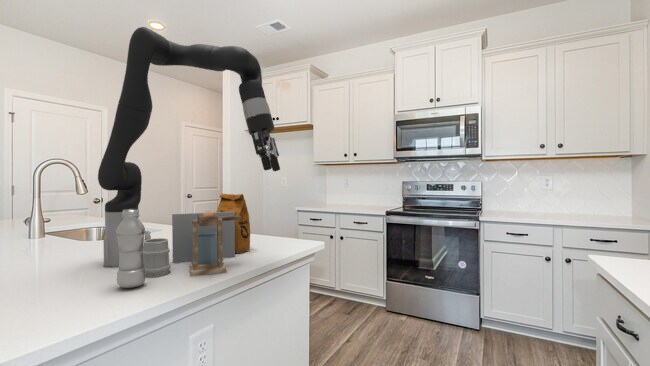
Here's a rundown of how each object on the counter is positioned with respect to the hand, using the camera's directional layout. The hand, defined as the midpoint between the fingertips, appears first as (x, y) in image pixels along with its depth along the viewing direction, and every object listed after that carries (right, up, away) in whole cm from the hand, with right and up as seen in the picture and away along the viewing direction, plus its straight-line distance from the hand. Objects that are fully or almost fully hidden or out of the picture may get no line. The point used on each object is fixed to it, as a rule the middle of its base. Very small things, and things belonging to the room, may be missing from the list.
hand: (272, 170), depth 93 cm
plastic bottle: (-35, -31, -10) cm, 48 cm away
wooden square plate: (-17, -16, +6) cm, 24 cm away
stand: (-20, -30, +4) cm, 37 cm away
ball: (-19, -13, 0) cm, 23 cm away
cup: (-24, -30, +13) cm, 41 cm away
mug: (-36, -31, +2) cm, 47 cm away
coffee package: (-20, -30, +30) cm, 47 cm away
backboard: (-26, -30, +17) cm, 44 cm away
